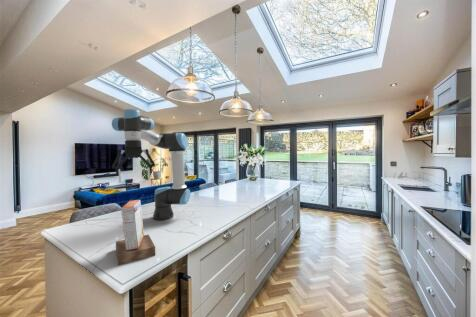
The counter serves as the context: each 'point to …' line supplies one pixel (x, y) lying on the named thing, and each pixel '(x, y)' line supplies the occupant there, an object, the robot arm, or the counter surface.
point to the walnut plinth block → (134, 251)
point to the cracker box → (132, 224)
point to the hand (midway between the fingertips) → (134, 180)
